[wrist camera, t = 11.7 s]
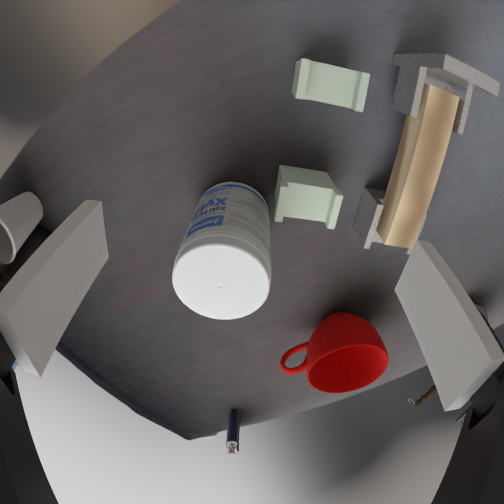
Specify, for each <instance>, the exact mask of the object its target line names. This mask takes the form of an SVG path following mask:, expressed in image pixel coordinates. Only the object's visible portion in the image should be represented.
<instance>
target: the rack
mask: <svg viewBox="0 0 504 504" xmlns="http://www.w3.org/2000/svg"><path fill="white" fill-rule="evenodd" d="M369 78H370V74H368V73H365V72H358V71H354V70H350V69H346V68H342V67H338V66H333V65H329V64H324V63H319V62H315V61H311V60H309V59H304V58H301V59H300V60H299V61H296V65H295V71H294V78H293V84H292V91H291V94H293V95H294V97H295V98H297V99H302V100H304V99H308V100H313V101H318V102H323V103H328V104H333V105H338V106H342V107H347V108H351V109H353V110H355V111H359V112H363V109H364V104H365V99H366V94H367V89H368V83H369ZM342 199H343V195H342V193H341V191H340V190H337V189H336V187H335V185H334V183H333V182H332V180H331V178H330V177H329V175H328V173H327V172H322V171H317V170H310V169H304V168H298V167H291V166H285V165H279V171H278V177H277V183H276V189H275V203H276V207H275V213H274V220H275V221H276V222H282V220H283V216H285V217H293V218H300V219H308V220H315V221H322V222H325V224H326V226H327V228H328V229H334V228H335V225H336V221H337V217H338V214H339V210H340V206H341V203H342Z"/></svg>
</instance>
